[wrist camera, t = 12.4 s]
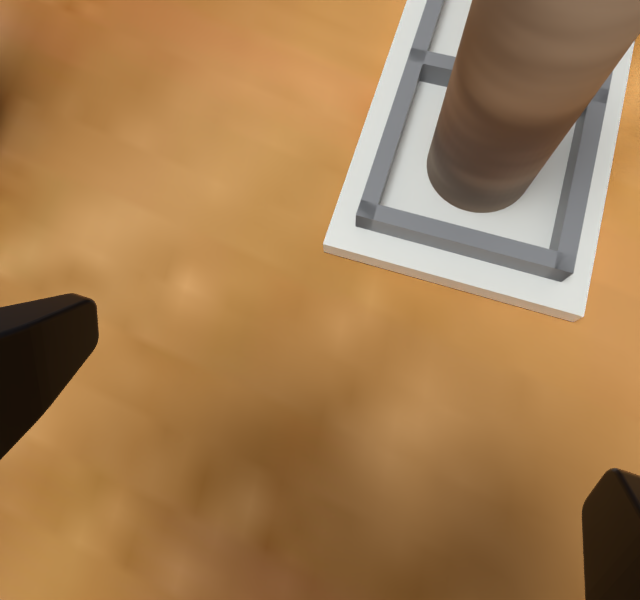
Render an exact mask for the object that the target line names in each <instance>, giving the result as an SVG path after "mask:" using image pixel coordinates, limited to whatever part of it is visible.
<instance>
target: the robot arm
mask: <svg viewBox="0 0 640 600" xmlns="http://www.w3.org/2000/svg"><path fill="white" fill-rule="evenodd" d="M98 338H99V332H98V318H97V306H96V304H95V302H94V301H93V300H92V299H90V298H87V297H84V296H81V295H78V294H74V293H70V294H64V295H59V296H55V297H50V298H45V299H40V300H35V301H30V302H25V303H20V304H15V305H10V306H5V307H0V460H1V459H2V458H3V457H4V455H5V454H6V453H7V452H8V451H9V450H10V449H11V448H12V447H13V446H14V445H15V444H16V443H17V442H18V441H19V440H20V439H21V438H22V437H23V436H24V434H25V433H26V432H27V431H28V430H29V429H30V428H31V427H32V426H33V425H34V424H35V423H36V422H37V421H38V419H39V418H40V417H41V416H42V415H43V414H44V413H45V412H46V410H47V409H48V408H49V407H50V406H51V404H52V403H53V402H54V401H55V399H56V398H57V397H58V395H59V394H60V393H61V392H62V390H63V389H64V388H65V386H66V385H67V384H68V383H69V381H70V380H71V379H72V377H73V376H74V375H75V374H76V372H77V371H78V370H79V368H80V367H81V366H82V365H83V363H84V362H85V361H86V359H87V358H88V357H89V356H90V354H91V353H92V352H93V350H94V349H95V347H96V345H97V342H98ZM582 530H583V554H584V578H585V599H586V600H640V476H639V475H636V474H633V473H630V472H627V471H624V470H621V469H618V468H612V469H609V470H608V471H607V472H606V473H605V474H604V475H603V476H602V478H601V479H600V481H599V482H598V483H597V485H596V486H595V487H594V489H593V490H592V491H591V493H590V494H589V496H588V497H587V498H586V500H585V502H584V505H583V509H582Z"/></svg>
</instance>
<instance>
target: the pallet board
mask: <svg viewBox="0 0 640 600" xmlns="http://www.w3.org/2000/svg"><path fill="white" fill-rule="evenodd" d="M471 3H472V0H407V2H406V5H405V8H404V11H403V14H402V16H401V19H400V22H399V25H398V28H397V31H396V34H395V37H394V40H393V43H392V45H391V48H390V51H389V54H388V57H387V60H386V63H385V66H384V69H383V72H382V74H381V77H380V80H379V83H378V86H377V89H376V92H375V95H374V98H373V101H372V103H371V106H370V109H369V112H368V115H367V118H366V121H365V124H364V127H363V130H362V132H361V135H360V138H359V141H358V144H357V147H356V150H355V153H354V156H353V159H352V161H351V164H350V167H349V170H348V173H347V176H346V179H345V182H344V185H343V188H342V190H341V193H340V196H339V199H338V202H337V205H336V208H335V211H334V214H333V216H332V219H331V222H330V225H329V228H328V231H327V234H326V237H325V240H324V243H323V248H324V252H326V253H330V254H333V255H337V256H340V257H344V258H348V259H351V260H355V261H358V262H362V263H365V264H369V265H372V266H376V267H380V268H383V269H387V270H390V271H394V272H397V273H401V274H404V275H408V276H411V277H415V278H419V279H422V280H426V281H429V282H433V283H436V284H440V285H443V286H447V287H450V288H454V289H458V290H461V291H465V292H468V293H472V294H475V295H479V296H482V297H486V298H490V299H493V300H497V301H500V302H504V303H507V304H511V305H514V306H518V307H521V308H525V309H529V310H532V311H536V312H539V313H543V314H546V315H550V316H553V317H557V318H560V319H564V320H568V321H571V322H574V321H576V320H578V319H580V318H582V317H584V313H585V307H586V302H587V296H588V291H589V286H590V280H591V275H592V269H593V264H594V259H595V253H596V248H597V242H598V237H599V231H600V226H601V221H602V215H603V210H604V204H605V199H606V194H607V188H608V183H609V177H610V172H611V167H612V161H613V156H614V150H615V145H616V140H617V134H618V129H619V123H620V118H621V113H622V107H623V102H624V96H625V91H626V86H627V80H628V75H629V69H630V64H631V59H632V53H633V48H634V42H635V41H634V42H633V43H632V45H631V46H630V48H629V49H628V50H627V52H626V53H625V54H624V56H623V57H622V59H621V60H620V61H619V63H618V64H617V66H616V67H615V68H614V70H613V71H612V72H611V74H610V75H609V77H608V78H607V79H606V81H605V82H604V83H603V85H602V86H601V88H600V89H599V90H598V92H597V93H596V95H595V96H594V97H593V99H592V100H591V101H590V103H589V104H588V106H587V107H586V108H585V110H584V111H583V112H582V114H581V115H580V117H579V118H578V119H577V121H576V122H575V124H574V125H573V126H572V128H571V129H570V130H569V132H568V133H567V135H566V136H565V137H564V139H563V140H562V141H561V143H560V144H559V146H558V147H557V148H556V150H555V151H554V152H553V154H552V155H551V157H550V158H549V159H548V161H547V162H546V164H545V165H544V166H543V168H542V169H541V170H540V172H539V173H538V175H537V176H536V177H535V179H534V180H533V181H532V183H531V184H530V186H529V187H528V188H527V190H526V191H525V193H524V194H523V195H522V196H521V197H520V198H519V199H518V200H517V201H516V202H515V203H513V204H512V205H510V206H509V207H506V208H504V209H502V210H499V211H495V212H489V213H475V212H469V211H465V210H462V209H459V208H457V207H455V206H453V205H451V204H449V203H448V202H447V201H445V200H444V199H443V198H442V197H441V196H440V195H439V194H438V193H437V192H436V191H435V189H434V188H433V186H432V184H431V182H430V180H429V177H428V174H427V157H428V153H429V149H430V146H431V142H432V139H433V135H434V132H435V128H436V125H437V121H438V118H439V114H440V111H441V107H442V104H443V100H444V97H445V93H446V90H447V86H448V83H449V79H450V76H451V72H452V69H453V65H454V62H455V58H456V55H457V51H458V48H459V44H460V41H461V37H462V34H463V30H464V27H465V23H466V20H467V17H468V13H469V10H470V6H471Z"/></svg>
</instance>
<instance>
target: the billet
mask: <svg viewBox="0 0 640 600" xmlns="http://www.w3.org/2000/svg"><path fill="white" fill-rule="evenodd" d="M639 34H640V0H472V3H471V6H470V10H469V13H468V17H467V20H466V23H465V27H464V30H463V34H462V37H461V41H460V44H459V48H458V51H457V55H456V58H455V62H454V65H453V69H452V72H451V76H450V79H449V83H448V86H447V90H446V93H445V97H444V100H443V104H442V107H441V111H440V114H439V118H438V121H437V125H436V128H435V132H434V135H433V139H432V142H431V146H430V149H429V153H428V157H427V174H428V177H429V180H430V182H431V184H432V186H433V188H434V189H435V191H436V192H437V193H438V194H439V195H440V196H441V197H442V198H443V199H444V200H445V201H447V202H448V203H449V204H451V205H453V206H455V207H457V208H459V209H462V210H465V211H469V212H475V213H489V212H495V211H499V210H502V209H504V208H506V207H509V206H510V205H512V204H513V203H515V202H516V201H517V200H518V199H519V198H520V197H521V196H522V195H523V194H524V193H525V191H526V190H527V188H528V187H529V186H530V184H531V183H532V181H533V180H534V179H535V177H536V176H537V175H538V173H539V172H540V170H541V169H542V168H543V166H544V165H545V164H546V162H547V161H548V159H549V158H550V157H551V155H552V154H553V152H554V151H555V150H556V148H557V147H558V146H559V144H560V143H561V141H562V140H563V139H564V137H565V136H566V135H567V133H568V132H569V130H570V129H571V128H572V126H573V125H574V124H575V122H576V121H577V119H578V118H579V117H580V115H581V114H582V112H583V111H584V110H585V108H586V107H587V106H588V104H589V103H590V101H591V100H592V99H593V97H594V96H595V95H596V93H597V92H598V90H599V89H600V88H601V86H602V85H603V83H604V82H605V81H606V79H607V78H608V77H609V75H610V74H611V72H612V71H613V70H614V68H615V67H616V66H617V64H618V63H619V61H620V60H621V59H622V57H623V56H624V54H625V53H626V52H627V50H628V49H629V48H630V46H631V45H632V43H633V42H634V41H635V39H636V38H637V37H638V35H639Z"/></svg>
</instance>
